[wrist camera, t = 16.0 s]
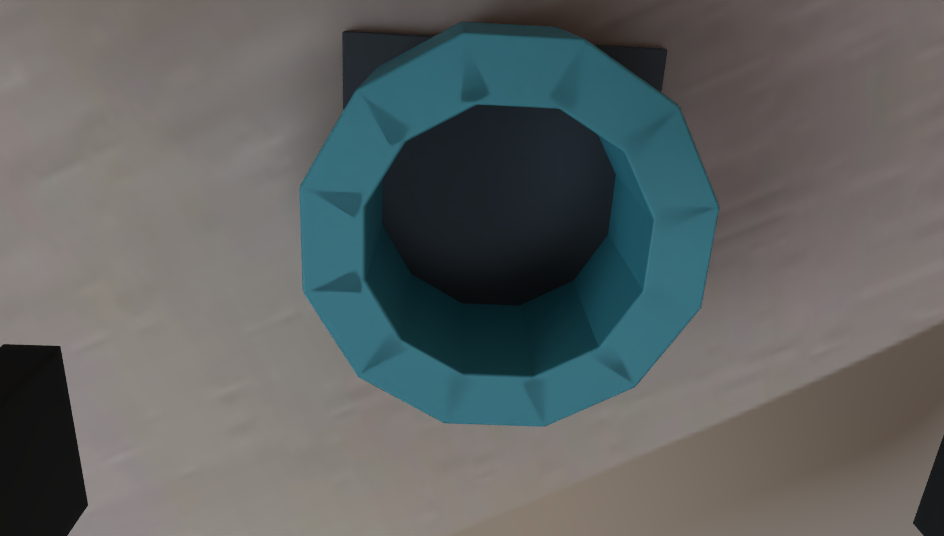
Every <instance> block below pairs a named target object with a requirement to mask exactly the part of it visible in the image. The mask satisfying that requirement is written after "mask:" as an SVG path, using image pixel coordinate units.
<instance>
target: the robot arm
mask: <svg viewBox="0 0 944 536" xmlns="http://www.w3.org/2000/svg"><path fill="white" fill-rule="evenodd" d="M87 506H88V502H87V496H86V491H85V485H84V479H83V474H82V468H81V462H80V456H79V451H78V445H77V439H76V434H75V428H74V422H73V416H72V411H71V405H70V399H69V393H68V388H67V382H66V376H65V371H64V365H63V359H62V353H61V348H60V346H41V345H10V344H4V345H2V346H1V347H0V536H67V535H68V534H69V532H70V531H71V529H72V528H73V526H74V525H75V523H76V522H77V520H78V519H79V518H80V516H81V515H82V513H83V512H84V510H85V509H86V507H87ZM913 524H914V525H915V526H916V527H917V528H918V530H919V531H920V532H921V533H922V534H923V535H924V536H944V436H943V439H942V442H941V445H940V447H939V450H938V453H937V456H936V459H935V462H934V465H933V468H932V470H931V473H930V476H929V479H928V482H927V485H926V487H925V490H924V493H923V496H922V499H921V502H920V505H919V507H918V510H917V513H916V516H915V519H914V522H913Z"/></svg>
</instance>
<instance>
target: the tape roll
mask: <svg viewBox="0 0 944 536" xmlns="http://www.w3.org/2000/svg"><path fill="white" fill-rule="evenodd" d="M476 105H497V106H517V107H536V108H556V109H561V110H562V111H563V112H565V113H566V114H568V115H569V116H571V117H572V118H574V119H575V120H577V121H578V122H580V123H581V124H583V125H584V126H586V127H587V128H589V129H590V130H592V131H593V132H595V133H596V134H598V136H599V138H600V140H601V143H602V145H603V147H604V149H605V152H606V154H607V156H608V158H609V161H610V163H611V165H612V167H613V170H614V172H615V174H616V177H615V185H614V192H613V200H612V208H611V216H610V224H609V232H608V235H607V236H606V238H605V239H604V240H603V242H602V243H601V244H600V246H599V247H598V248H597V250H596V251H595V252H594V254H593V255H592V256H591V258H590V259H589V260H588V262H587V263H586V264H585V266H584V267H583V268H582V270H581V271H580V272H579V274H578V275H577V276H576V278H575V279H574V280H573V281H571V282H569V283H567V284H565V285H563V286H561V287H558V288H556V289H554V290H552V291H550V292H548V293H546V294H543V295H541V296H539V297H537V298H535V299H533V300H531V301H528V302H526V303H524V304H522V305H520V306H515V305H490V304H466V303H460V302H459V301H457V300H455V299H454V298H452V297H450V296H448V295H447V294H445V293H443V292H442V291H440V290H438V289H437V288H435V287H433V286H431V285H430V284H428V283H426V282H425V281H423V280H421V279H419V278H418V277H416V276H414V275H413V274H411V272H410V271H409V269H408V267H407V266H406V264H405V262H404V260H403V259H402V257H401V255H400V254H399V252H398V250H397V248H396V247H395V245H394V243H393V242H392V240H391V238H390V236H389V235H388V233H387V231H386V230H385V228H384V226H383V224H382V191H383V178H384V176H385V174H386V173H387V171H388V170H389V168H390V166H391V165H392V163H393V162H394V160H395V158H396V157H397V155H398V153H399V152H400V150H401V149H402V147H403V145H404V144H405V142H406V141H408V140H410V139H412V138H414V137H416V136H418V135H420V134H421V133H423V132H425V131H427V130H429V129H431V128H433V127H435V126H437V125H439V124H441V123H443V122H445V121H447V120H449V119H450V118H452V117H454V116H456V115H458V114H460V113H462V112H464V111H466V110H468V109H470V108H472V107H474V106H476ZM718 212H719V204H718V202H717V199H716V196H715V194H714V191H713V189H712V186H711V184H710V181H709V179H708V176H707V174H706V171H705V169H704V166H703V164H702V161H701V159H700V156H699V154H698V151H697V149H696V146H695V144H694V141H693V139H692V136H691V134H690V131H689V129H688V126H687V123H686V121H685V118H684V116H683V113H682V111H681V108H680V107H679V106H678V104H676V103H675V102H674V101H672V100H671V99H669V98H668V97H667V96H665V95H664V94H662V93H661V92H660V91H658V90H657V89H655V88H654V87H652V86H651V85H650V84H648V83H647V82H645V81H644V80H643V79H641V78H640V77H638V76H637V75H636V74H634V73H633V72H631V71H630V70H628V69H627V68H626V67H624V66H623V65H621V64H620V63H619V62H617V61H616V60H614V59H613V58H611V57H610V56H609V55H607V54H606V53H604V52H603V51H602V50H600V49H599V48H597V47H596V46H595V45H593V44H592V43H590V42H589V41H587V40H586V39H583V38H581V37H579V36H577V35H574V34H572V33H570V32H567V31H565V30H563V29H561V28H558V27H548V26H530V25H512V24H494V23H476V22H461V23H458V24H456V25H454V26H453V27H451V28H449V29H447V30H445V31H443V32H441V33H440V34H438V35H436V36H434V37H432V38H430V39H428V40H427V41H425V42H423V43H421V44H419V45H417V46H415V47H414V48H412V49H410V50H408V51H406V52H404V53H402V54H401V55H399V56H397V57H395V58H393V59H391V60H389V61H388V62H386V63H384V64H382V65H380V66H378V67H377V68H376V69H375V70H374V71H373V72H372V73H371V74H370V76H369V77H368V78H367V79H366V80H365V81H364V82H363V83H362V84H361V85H360V86H359V87H358V88H357V90H356V91H355V92H354V94H353V95H352V97H351V99H350V101H349V102H348V104H347V106H346V107H345V109H344V111H343V113H342V114H341V116H340V118H339V120H338V121H337V123H336V125H335V126H334V128H333V130H332V132H331V133H330V135H329V137H328V138H327V140H326V142H325V144H324V145H323V147H322V149H321V150H320V152H319V154H318V156H317V157H316V159H315V161H314V162H313V164H312V166H311V168H310V169H309V171H308V173H307V175H306V176H305V178H304V180H303V181H302V183H301V186H300V219H301V248H302V278H303V291H304V294H305V295H306V297H307V299H308V300H309V302H310V303H311V305H312V306H313V308H314V309H315V311H316V312H317V314H318V315H319V317H320V319H321V320H322V322H323V323H324V325H325V326H326V328H327V329H328V331H329V332H330V334H331V335H332V337H333V339H334V340H335V342H336V343H337V345H338V346H339V348H340V349H341V351H342V352H343V354H344V355H345V357H346V359H347V360H348V362H349V363H350V365H351V366H352V368H353V369H354V371H355V372H356V374H357V376H358V377H360V378H361V379H363V380H365V381H367V382H369V383H371V384H373V385H374V386H376V387H378V388H380V389H382V390H384V391H386V392H387V393H389V394H391V395H393V396H395V397H397V398H399V399H400V400H402V401H404V402H406V403H408V404H410V405H412V406H413V407H415V408H417V409H419V410H421V411H423V412H425V413H426V414H428V415H430V416H432V417H434V418H436V419H438V420H439V421H441V422H443V423H456V424H485V425H514V426H547V425H549V424H551V423H554V422H556V421H558V420H561V419H563V418H565V417H567V416H570V415H572V414H574V413H577V412H579V411H581V410H583V409H586V408H588V407H590V406H593V405H595V404H597V403H599V402H602V401H604V400H606V399H609V398H611V397H613V396H615V395H618V394H620V393H622V392H625V391H627V390H629V389H631V388H634V387H635V386H636V385H637V384H638V383H639V382H640V381H641V379H642V378H643V377H644V376H645V375H646V373H647V372H648V371H649V370H650V368H651V367H652V366H653V365H654V364H655V362H656V361H657V360H658V359H659V358H660V356H661V355H662V354H663V353H664V352H665V350H666V349H667V348H668V347H669V346H670V344H671V343H672V342H673V341H674V340H675V338H676V337H677V336H678V335H679V334H680V332H681V331H682V330H683V329H684V328H685V326H686V325H687V324H688V323H689V322H690V320H691V319H692V318H693V317H694V316H695V314H696V313H697V312H698V311H699V309H700V308H701V305H702V299H703V294H704V288H705V283H706V278H707V272H708V267H709V261H710V256H711V250H712V245H713V240H714V234H715V229H716V223H717V218H718Z"/></svg>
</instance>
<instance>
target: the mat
mask: <svg viewBox="0 0 944 536" xmlns="http://www.w3.org/2000/svg"><path fill="white" fill-rule="evenodd" d="M342 34H343V111H344V109H345V107H346V106H347V104H348V102H349V101H350V99H351V97H352V95H353V94H354V92H355V91H356V90H357V88H358V87H359V86H360V85H361V84H362V83H363V82H364V81H365V80H366V79H367V78H368V77H369V76H370V74H371V73H372V72H373V71H374V70H375V69H376V68H377V67H378V66H380V65H382V64H384V63H386V62H388V61H389V60H391V59H393V58H395V57H397V56H399V55H401V54H402V53H404V52H406V51H408V50H410V49H412V48H414V47H415V46H417V45H419V44H421V43H423V42H425V41H427V40H428V39H430V38H432V37H434V36H428V35H410V34H391V33H373V32H355V31H344V32H343V33H342ZM595 46H596V47H597V48H599V49H600V50H602V51H603V52H604V53H606V54H607V55H609V56H610V57H611V58H613V59H614V60H616V61H617V62H619V63H620V64H621V65H623V66H624V67H626V68H627V69H628V70H630V71H631V72H633V73H634V74H636V75H637V76H638V77H640V78H641V79H643V80H644V81H645V82H647V83H648V84H650V85H651V86H652V87H654V88H655V89H657V90H658V91H660V92H661V90H662V83H663V76H664V69H665V62H666V56H667V50H666V49H663V48H646V47H628V46H610V45H595ZM615 177H616V174H615V172H614V170H613V167H612V165H611V163H610V161H609V158H608V156H607V154H606V152H605V149H604V147H603V145H602V143H601V140H600V138H599V136H598V134H596V133H595V132H593V131H592V130H590V129H589V128H587V127H586V126H584V125H583V124H581V123H580V122H578V121H577V120H575V119H574V118H572V117H571V116H569V115H568V114H566V113H565V112H563V111H562V110H561V109H556V108H536V107H517V106H497V105H476V106H474V107H472V108H470V109H468V110H466V111H464V112H462V113H460V114H458V115H456V116H454V117H452V118H450V119H449V120H447V121H445V122H443V123H441V124H439V125H437V126H435V127H433V128H431V129H429V130H427V131H425V132H423V133H421V134H420V135H418V136H416V137H414V138H412V139H410V140H408V141H406V142H405V144H404V145H403V147H402V149H401V150H400V152H399V153H398V155H397V157H396V158H395V160H394V162H393V163H392V165H391V166H390V168H389V170H388V171H387V173H386V174H385V176H384V178H383V191H382V224H383V226H384V228H385V230H386V231H387V233H388V235H389V236H390V238H391V240H392V242H393V243H394V245H395V247H396V248H397V250H398V252H399V254H400V255H401V257H402V259H403V260H404V262H405V264H406V266H407V267H408V269H409V271H410V272H411V274H413V275H414V276H416V277H418V278H419V279H421V280H423V281H425V282H426V283H428V284H430V285H431V286H433V287H435V288H437V289H438V290H440V291H442V292H443V293H445V294H447V295H448V296H450V297H452V298H454V299H455V300H457V301H459V302H460V303H466V304H490V305H515V306H520V305H522V304H524V303H526V302H528V301H531V300H533V299H535V298H537V297H539V296H541V295H543V294H546V293H548V292H550V291H552V290H554V289H556V288H558V287H561V286H563V285H565V284H567V283H569V282H571V281H573V280H574V279H575V278H576V276H577V275H578V274H579V272H580V271H581V270H582V268H583V267H584V266H585V264H586V263H587V262H588V260H589V259H590V258H591V256H592V255H593V254H594V252H595V251H596V250H597V248H598V247H599V246H600V244H601V243H602V242H603V240H604V239H605V238H606V236H607V235H608V232H609V224H610V216H611V208H612V200H613V192H614V185H615Z"/></svg>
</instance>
